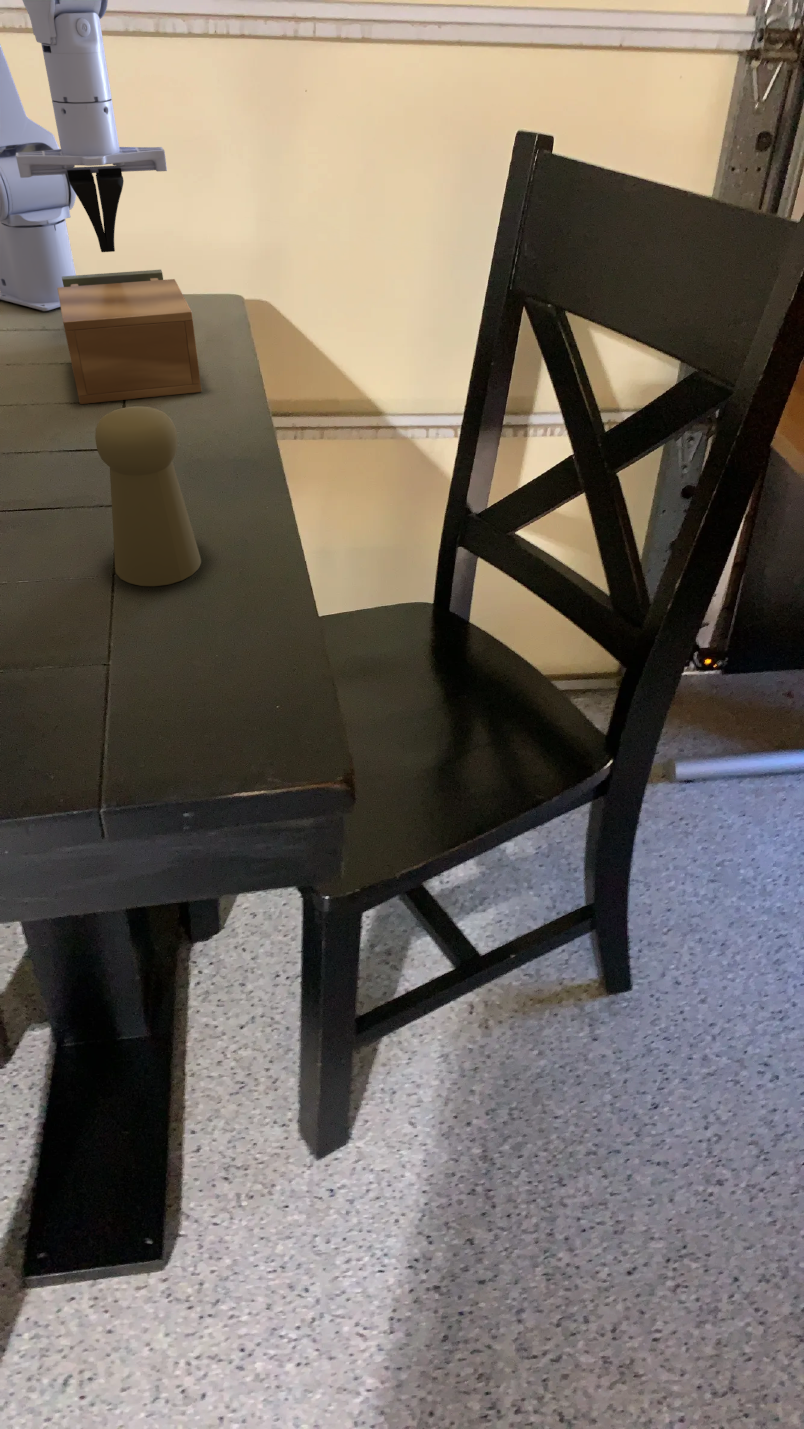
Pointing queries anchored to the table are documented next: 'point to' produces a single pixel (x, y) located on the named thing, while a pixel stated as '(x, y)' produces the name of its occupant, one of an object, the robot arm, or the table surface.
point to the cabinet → (130, 340)
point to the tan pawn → (146, 498)
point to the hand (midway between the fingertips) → (107, 249)
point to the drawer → (112, 278)
